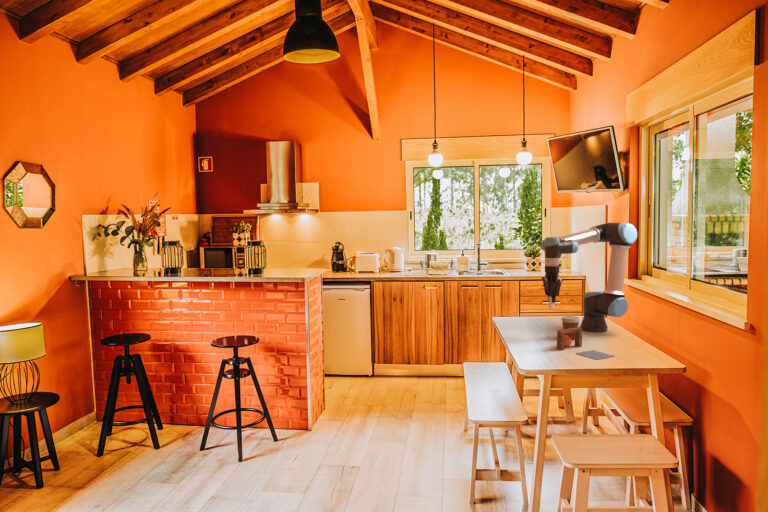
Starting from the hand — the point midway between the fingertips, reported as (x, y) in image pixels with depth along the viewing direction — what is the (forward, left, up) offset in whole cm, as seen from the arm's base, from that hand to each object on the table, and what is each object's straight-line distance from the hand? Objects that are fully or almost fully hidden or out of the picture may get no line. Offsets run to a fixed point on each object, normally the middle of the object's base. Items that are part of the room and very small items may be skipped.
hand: (551, 308), depth 283 cm
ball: (+3, +13, -15) cm, 20 cm away
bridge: (+3, +16, -18) cm, 24 cm away
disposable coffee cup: (-13, +2, -18) cm, 22 cm away
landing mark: (+3, +32, -18) cm, 37 cm away
